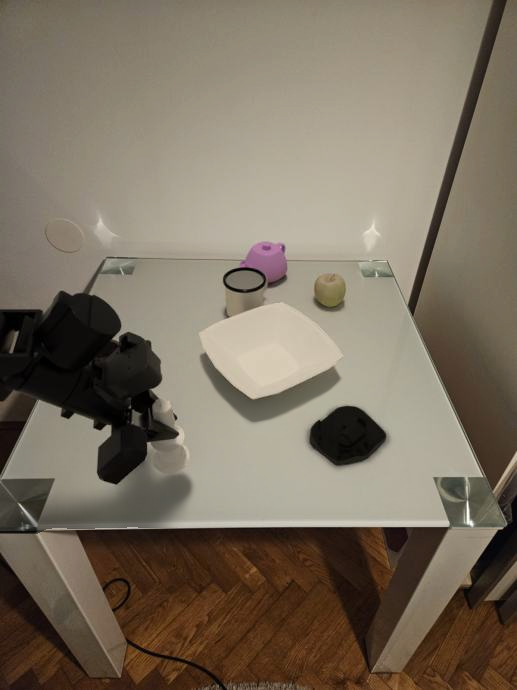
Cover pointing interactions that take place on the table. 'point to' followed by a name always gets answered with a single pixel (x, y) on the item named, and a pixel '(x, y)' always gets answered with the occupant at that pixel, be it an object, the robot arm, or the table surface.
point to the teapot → (267, 260)
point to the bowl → (269, 349)
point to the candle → (169, 442)
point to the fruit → (330, 289)
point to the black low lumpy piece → (346, 435)
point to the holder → (108, 350)
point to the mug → (244, 289)
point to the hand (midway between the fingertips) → (176, 427)
